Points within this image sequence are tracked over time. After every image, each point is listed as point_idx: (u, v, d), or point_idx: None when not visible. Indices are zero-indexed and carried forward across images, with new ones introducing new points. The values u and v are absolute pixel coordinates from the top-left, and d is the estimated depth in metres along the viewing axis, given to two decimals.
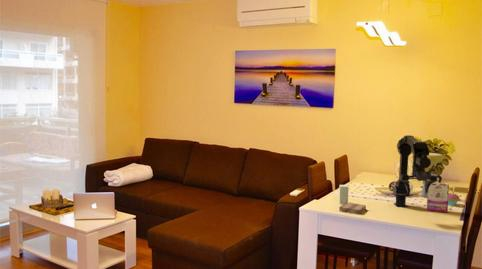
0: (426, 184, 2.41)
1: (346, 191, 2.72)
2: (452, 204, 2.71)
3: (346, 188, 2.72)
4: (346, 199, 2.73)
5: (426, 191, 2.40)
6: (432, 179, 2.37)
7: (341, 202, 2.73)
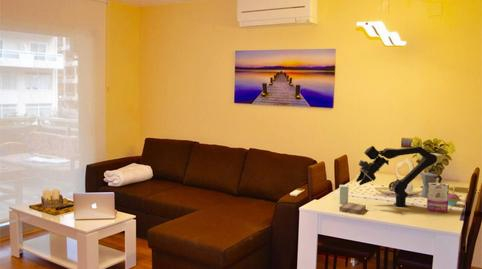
0: None
1: (346, 191, 2.72)
2: (452, 204, 2.71)
3: (346, 188, 2.72)
4: (346, 199, 2.73)
5: (360, 182, 2.67)
6: (366, 172, 2.64)
7: (341, 202, 2.73)
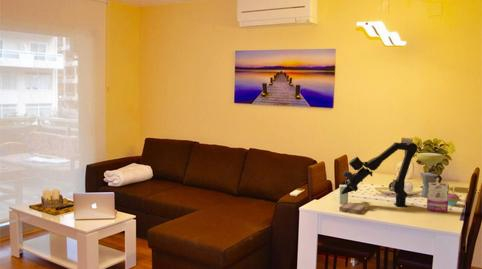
0: None
1: None
2: (452, 204, 2.71)
3: None
4: (346, 199, 2.73)
5: (342, 191, 2.72)
6: (349, 182, 2.67)
7: (341, 202, 2.73)
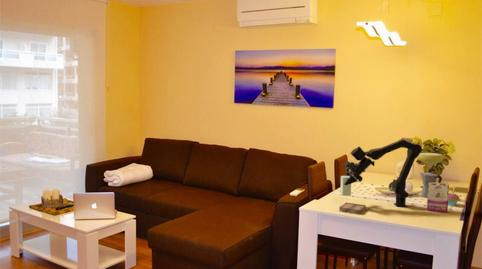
0: None
1: None
2: (452, 204, 2.71)
3: None
4: (349, 190, 2.66)
5: (345, 182, 2.65)
6: (353, 172, 2.61)
7: (344, 193, 2.67)
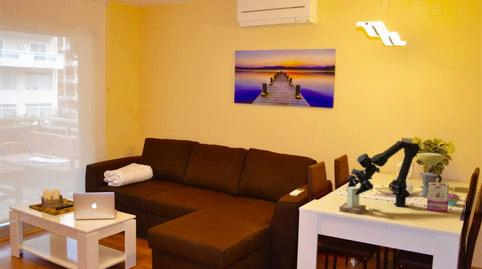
0: None
1: None
2: (452, 204, 2.71)
3: None
4: (357, 201, 2.57)
5: (356, 192, 2.54)
6: (363, 181, 2.52)
7: (353, 205, 2.56)
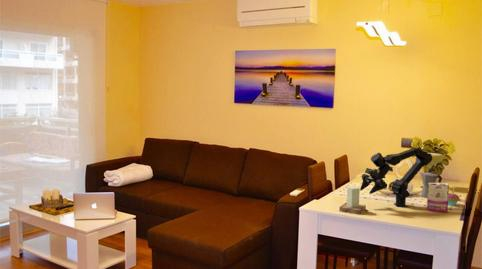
0: None
1: (357, 193, 2.57)
2: (452, 204, 2.71)
3: (357, 190, 2.56)
4: (357, 201, 2.57)
5: (370, 191, 2.57)
6: (377, 180, 2.55)
7: (353, 205, 2.56)
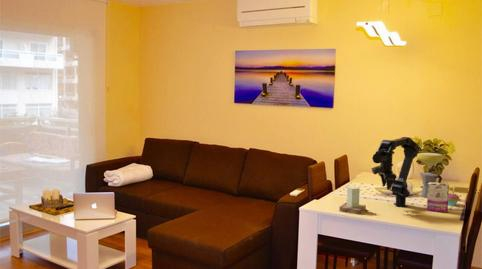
0: None
1: (357, 193, 2.57)
2: (452, 204, 2.71)
3: (357, 190, 2.56)
4: (357, 201, 2.57)
5: None
6: (384, 176, 2.53)
7: (353, 205, 2.56)
